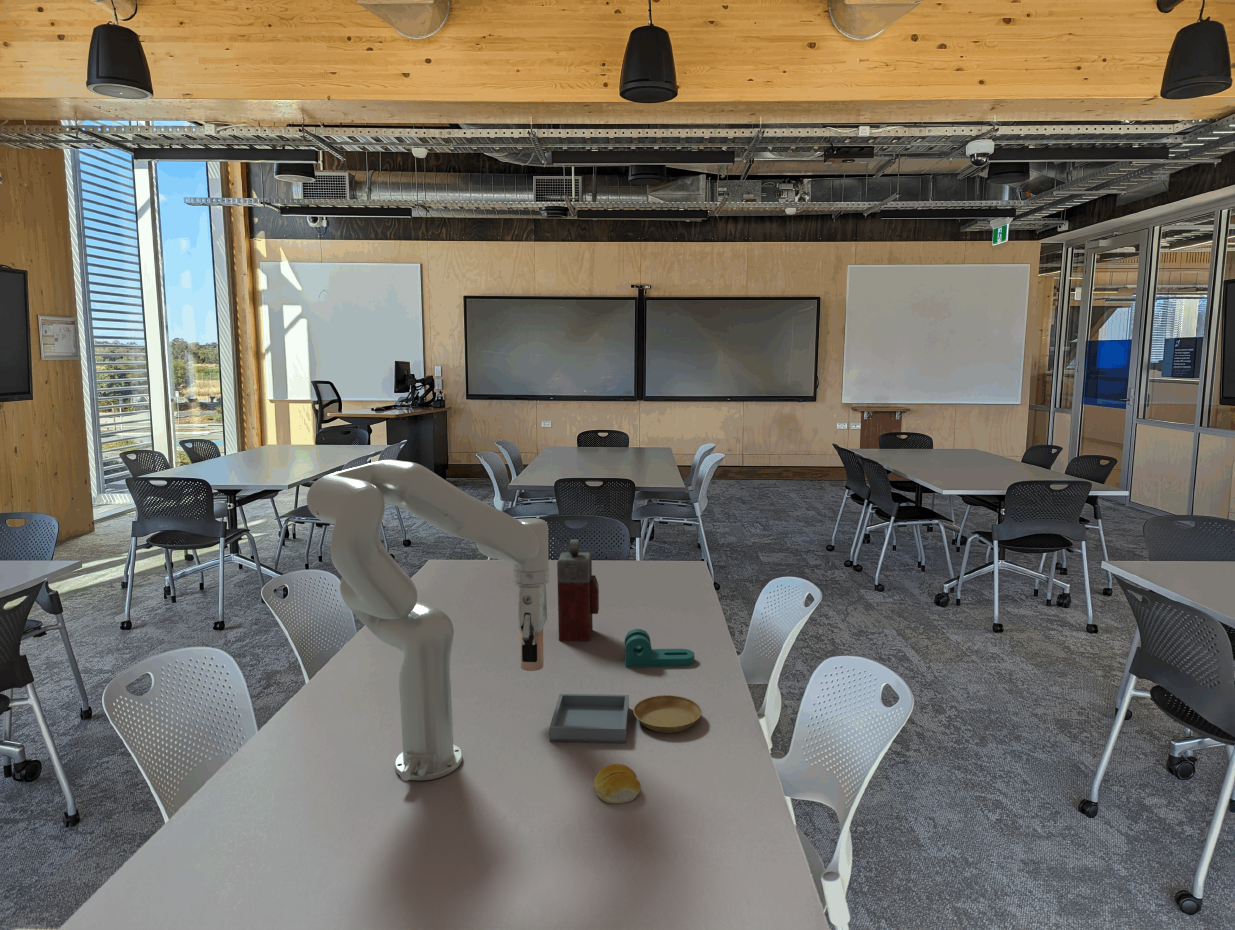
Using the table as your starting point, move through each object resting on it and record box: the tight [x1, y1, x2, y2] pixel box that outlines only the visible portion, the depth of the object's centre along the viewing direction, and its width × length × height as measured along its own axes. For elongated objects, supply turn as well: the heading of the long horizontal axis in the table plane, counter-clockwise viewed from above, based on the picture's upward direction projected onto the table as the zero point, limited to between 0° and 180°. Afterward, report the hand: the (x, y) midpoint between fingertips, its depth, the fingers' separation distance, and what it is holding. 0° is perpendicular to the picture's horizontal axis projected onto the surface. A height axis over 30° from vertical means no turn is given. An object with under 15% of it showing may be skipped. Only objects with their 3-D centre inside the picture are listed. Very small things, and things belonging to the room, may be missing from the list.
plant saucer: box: [632, 694, 702, 734], centre depth 157 cm, size 15×15×3 cm
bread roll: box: [593, 763, 642, 805], centre depth 131 cm, size 8×9×4 cm
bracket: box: [624, 628, 695, 668], centre depth 188 cm, size 18×7×8 cm, turn 91°
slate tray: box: [548, 693, 630, 744], centre depth 155 cm, size 16×16×3 cm
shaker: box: [519, 625, 545, 672], centre depth 159 cm, size 5×5×10 cm
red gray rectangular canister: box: [556, 539, 600, 642], centre depth 206 cm, size 9×11×28 cm
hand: (532, 655), depth 159 cm, fingers closed on shaker, 5 cm apart
